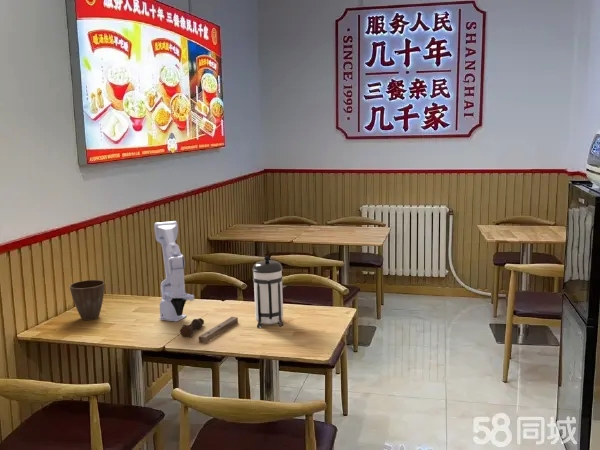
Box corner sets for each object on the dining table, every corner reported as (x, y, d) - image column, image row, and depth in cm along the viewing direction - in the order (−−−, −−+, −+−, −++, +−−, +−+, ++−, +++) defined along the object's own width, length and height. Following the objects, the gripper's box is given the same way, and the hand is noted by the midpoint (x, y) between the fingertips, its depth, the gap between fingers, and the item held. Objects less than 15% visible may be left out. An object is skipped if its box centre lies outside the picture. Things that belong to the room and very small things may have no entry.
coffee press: (243, 325, 253) (240, 257, 248) (269, 315, 264) (267, 250, 259) (271, 333, 241) (268, 262, 236) (298, 323, 252) (295, 255, 247)
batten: (199, 342, 233) (198, 336, 233) (231, 322, 257) (231, 316, 256) (205, 343, 232) (205, 337, 232) (237, 322, 256) (237, 316, 255)
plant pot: (68, 317, 270) (65, 283, 267) (100, 310, 279) (98, 278, 276) (78, 325, 258) (75, 290, 255) (111, 318, 267) (109, 284, 264)
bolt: (203, 329, 254) (187, 341, 239) (193, 323, 255) (177, 334, 240) (208, 318, 252) (193, 329, 238) (199, 312, 253) (183, 322, 239)
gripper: (157, 285, 246) (159, 316, 248) (186, 287, 240) (188, 319, 242) (167, 280, 252) (169, 311, 254) (196, 283, 246) (198, 314, 249)
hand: (179, 315), depth 249 cm, fingers closed
